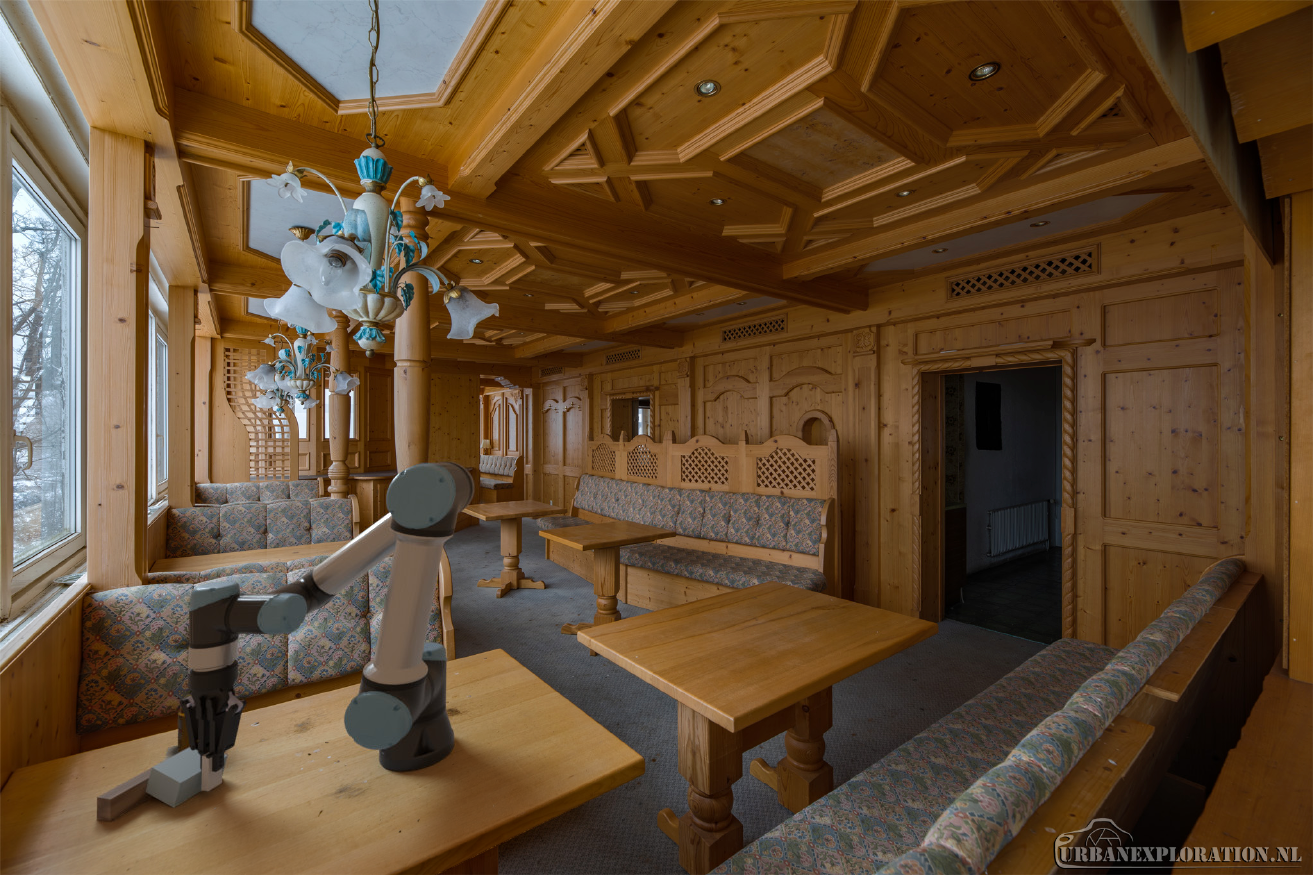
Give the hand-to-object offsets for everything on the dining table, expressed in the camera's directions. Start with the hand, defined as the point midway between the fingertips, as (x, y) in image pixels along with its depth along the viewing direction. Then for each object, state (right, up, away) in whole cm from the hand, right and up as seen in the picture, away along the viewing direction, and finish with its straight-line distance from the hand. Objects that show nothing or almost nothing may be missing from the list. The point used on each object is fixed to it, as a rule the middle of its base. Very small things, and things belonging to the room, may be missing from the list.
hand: (211, 786), depth 104 cm
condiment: (-16, -2, +14) cm, 22 cm away
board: (-12, -1, +2) cm, 12 cm away
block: (-6, 0, +1) cm, 6 cm away
